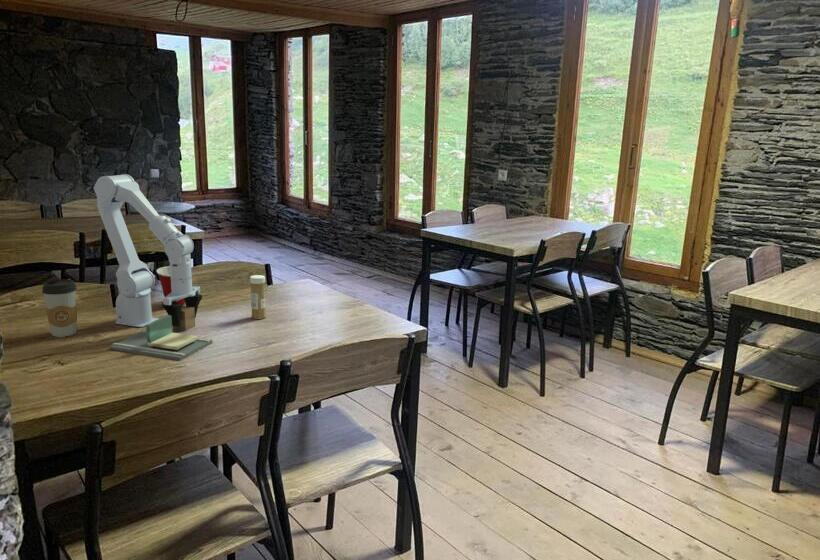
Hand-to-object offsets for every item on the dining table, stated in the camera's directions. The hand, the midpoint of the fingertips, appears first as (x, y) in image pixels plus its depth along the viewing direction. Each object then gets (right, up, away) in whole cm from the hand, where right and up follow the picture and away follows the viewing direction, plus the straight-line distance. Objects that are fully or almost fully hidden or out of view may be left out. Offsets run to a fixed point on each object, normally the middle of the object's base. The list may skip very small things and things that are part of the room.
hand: (183, 322), depth 180 cm
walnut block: (0, -2, 0) cm, 2 cm away
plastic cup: (-11, +4, +23) cm, 26 cm away
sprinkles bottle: (+19, 0, +12) cm, 23 cm away
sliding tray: (+3, -6, -16) cm, 17 cm away
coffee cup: (-31, -3, -8) cm, 32 cm away
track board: (0, -5, -15) cm, 16 cm away
